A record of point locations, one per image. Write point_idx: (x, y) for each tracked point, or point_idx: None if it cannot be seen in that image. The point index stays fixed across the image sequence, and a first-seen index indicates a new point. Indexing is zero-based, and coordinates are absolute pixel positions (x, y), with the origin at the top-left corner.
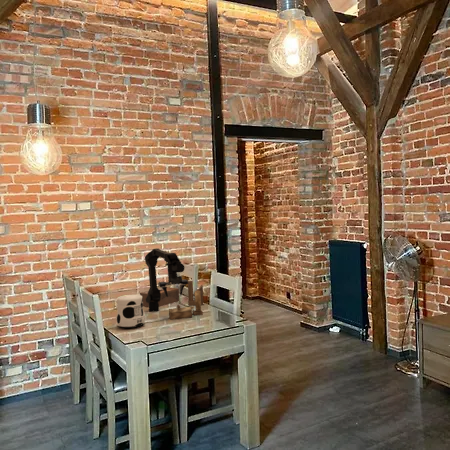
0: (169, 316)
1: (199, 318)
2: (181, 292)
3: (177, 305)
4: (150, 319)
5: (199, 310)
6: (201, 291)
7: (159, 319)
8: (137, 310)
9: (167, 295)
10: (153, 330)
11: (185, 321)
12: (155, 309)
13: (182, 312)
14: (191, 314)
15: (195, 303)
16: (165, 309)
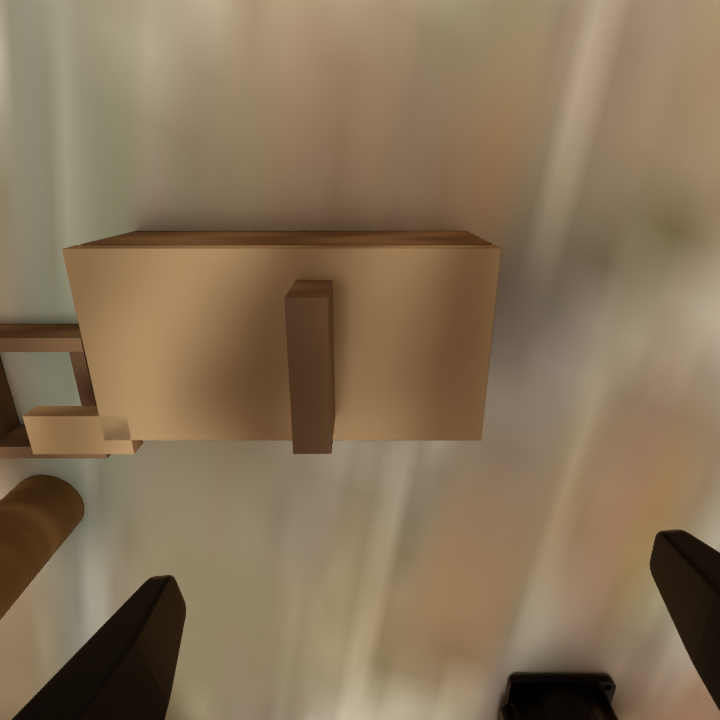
0: None
1: (16, 116)
2: (81, 675)
3: (329, 399)
4: (716, 365)
5: (5, 445)
6: None
7: (607, 316)
8: None
9: (705, 573)
10: None
11: (256, 4)
12: (546, 699)
13: (263, 241)
14: (122, 237)
15: (10, 594)
16: (423, 705)
